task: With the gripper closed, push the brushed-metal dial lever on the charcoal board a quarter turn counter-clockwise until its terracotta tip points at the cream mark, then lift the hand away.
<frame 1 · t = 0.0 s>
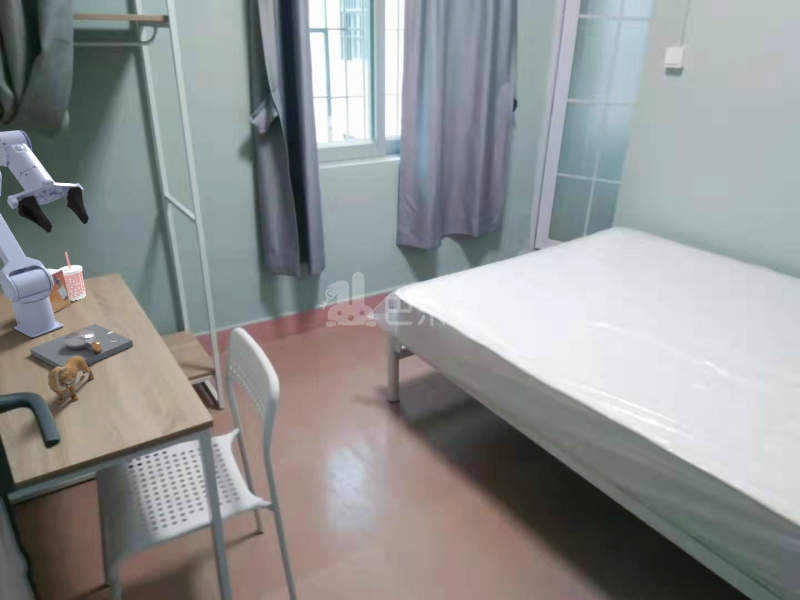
hand: (68, 225, 119), 32 cm above the table, tool tilted 50°, fingers open, 7 cm apart
dial board: (83, 349, 136), on the table
beverage cup: (77, 298, 165), on the table
dial: (85, 341, 134), point 3 cm above the table, hinge at 0.0°
small box: (52, 309, 158), on the table
lion figurine: (76, 393, 119), on the table
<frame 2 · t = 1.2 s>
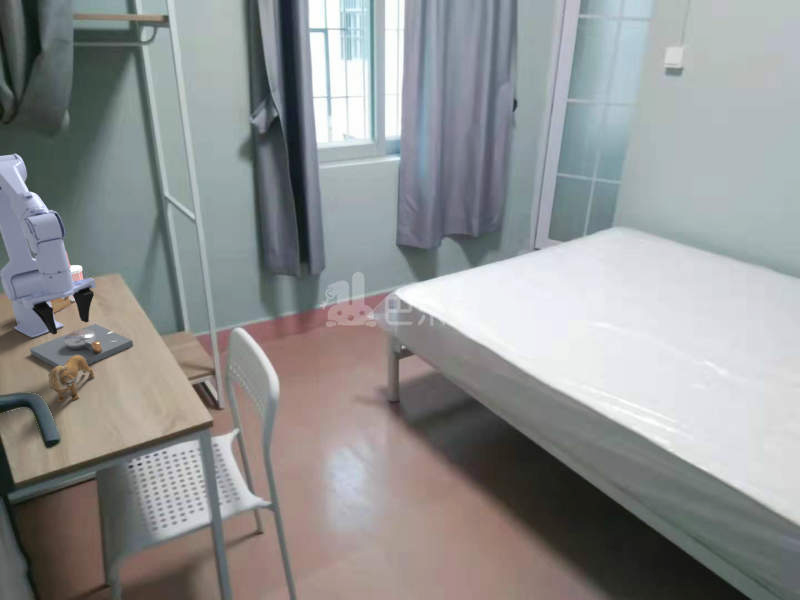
hand: (69, 326, 127), 9 cm above the table, tool pointing down, fingers open, 6 cm apart
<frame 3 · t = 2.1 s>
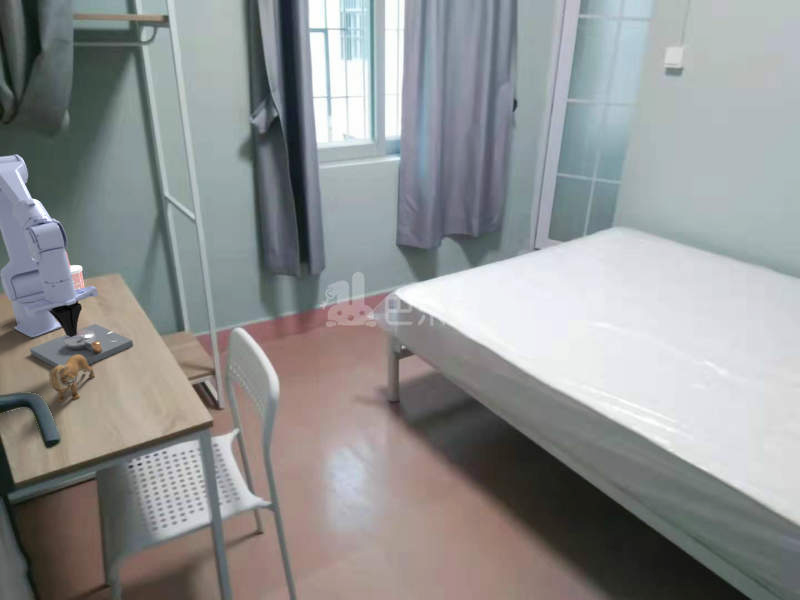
hand: (71, 334, 127), 7 cm above the table, tool pointing down, fingers closed
nothing on the table moved.
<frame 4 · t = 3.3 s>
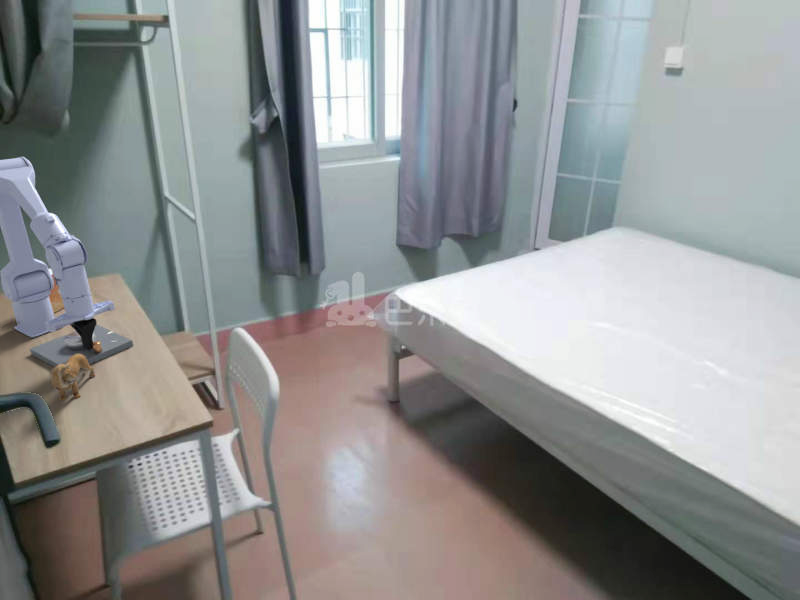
hand: (89, 347, 132), 3 cm above the table, tool pointing down, fingers closed, pressing on dial
dial: (85, 341, 134), point 3 cm above the table, hinge at 0.4°, touching gripper
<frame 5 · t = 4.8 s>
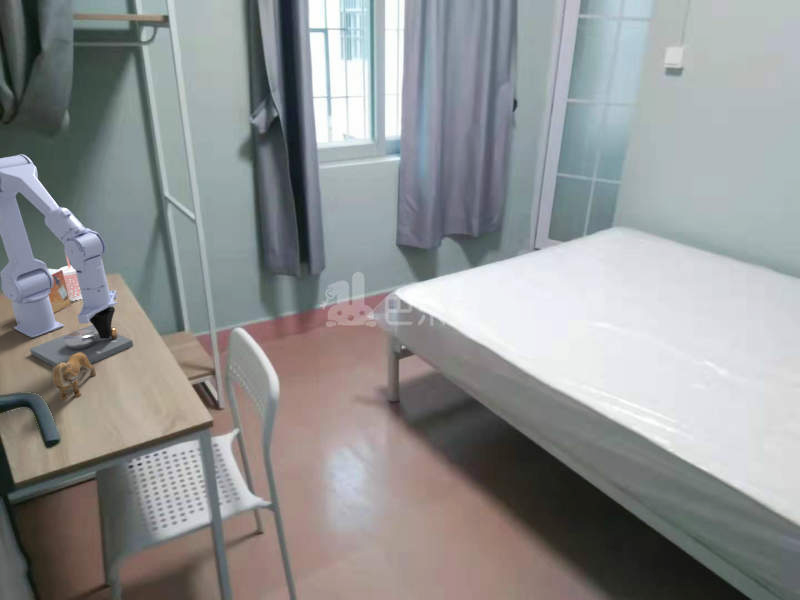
hand: (105, 337, 136), 3 cm above the table, tool pointing down, fingers closed, pressing on dial
dial: (91, 337, 136), point 3 cm above the table, hinge at 62.7°, touching gripper
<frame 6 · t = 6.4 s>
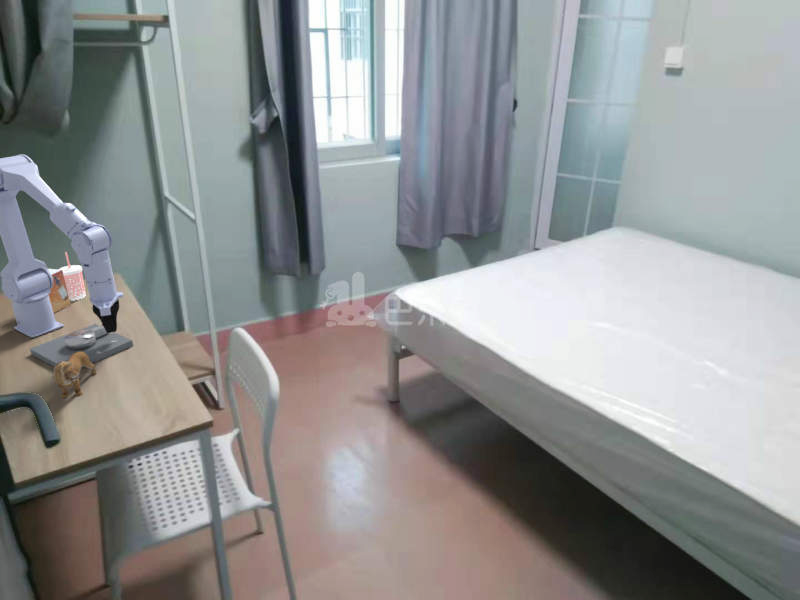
hand: (111, 331, 137), 4 cm above the table, tool pointing down, fingers closed
dial: (89, 335, 137), point 3 cm above the table, hinge at 95.4°
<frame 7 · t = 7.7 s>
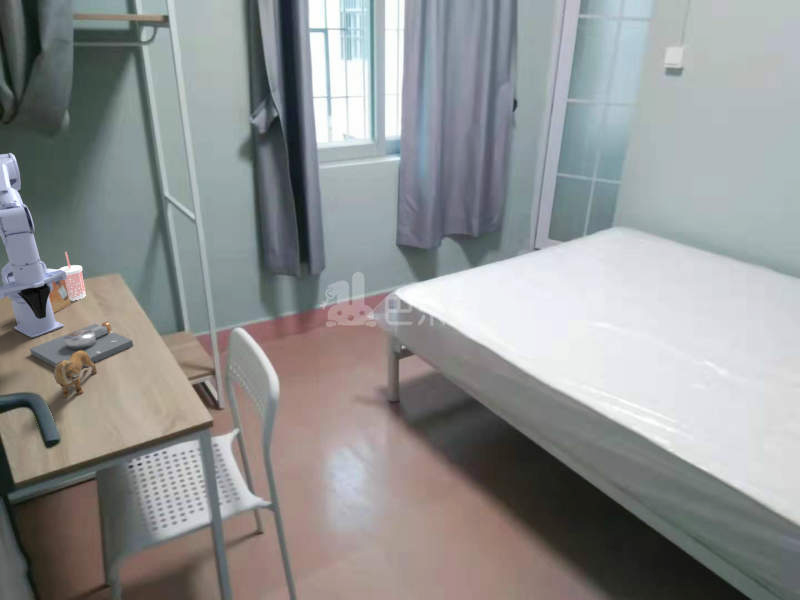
hand: (40, 317, 131), 9 cm above the table, tool pointing down, fingers closed
dial: (89, 335, 137), point 3 cm above the table, hinge at 95.8°
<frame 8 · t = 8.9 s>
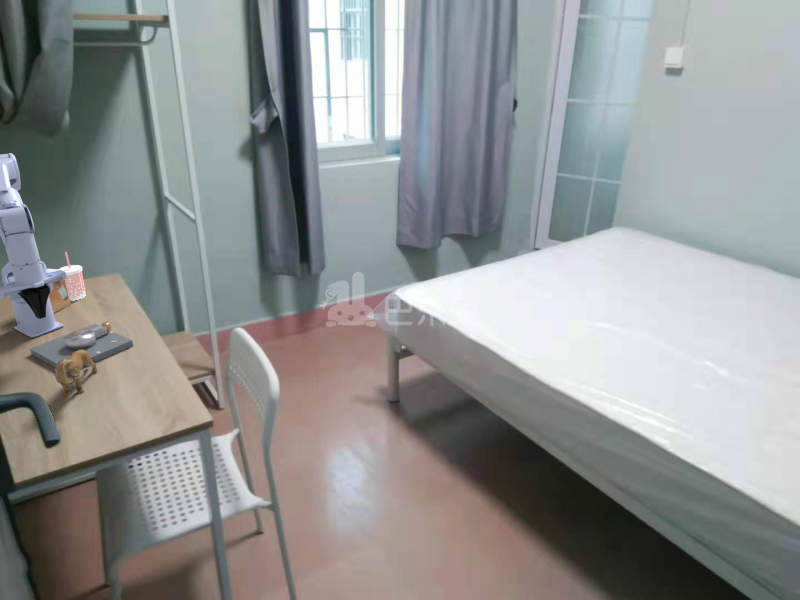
hand: (40, 317, 131), 9 cm above the table, tool pointing down, fingers closed
at the end: dial at +96° (first picture: +0°); the gripper is holding nothing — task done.
